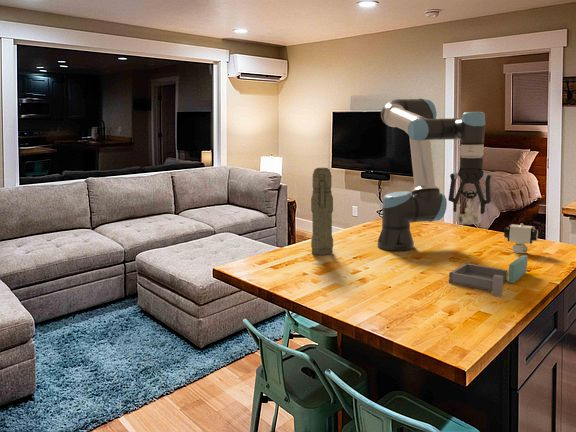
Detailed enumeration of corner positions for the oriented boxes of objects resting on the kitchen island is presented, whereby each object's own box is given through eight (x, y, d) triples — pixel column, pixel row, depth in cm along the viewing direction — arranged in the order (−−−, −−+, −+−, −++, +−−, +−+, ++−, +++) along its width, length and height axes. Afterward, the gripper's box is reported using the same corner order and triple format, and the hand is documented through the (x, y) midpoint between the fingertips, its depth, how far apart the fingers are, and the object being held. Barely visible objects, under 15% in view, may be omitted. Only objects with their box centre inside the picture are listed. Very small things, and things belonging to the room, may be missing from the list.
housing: (445, 285, 159) (446, 267, 158) (465, 272, 171) (465, 256, 170) (499, 296, 148) (501, 277, 147) (516, 282, 160) (518, 264, 159)
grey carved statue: (313, 257, 195) (312, 169, 188) (309, 249, 206) (309, 167, 200) (335, 256, 195) (335, 169, 189) (330, 248, 207) (330, 166, 200)
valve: (454, 223, 176) (456, 190, 174) (470, 222, 178) (472, 189, 175) (465, 227, 170) (467, 192, 168) (482, 225, 171) (484, 191, 169)
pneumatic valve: (534, 255, 191) (537, 226, 189) (502, 251, 198) (504, 223, 196) (536, 252, 196) (539, 223, 193) (505, 248, 202) (507, 220, 200)
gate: (508, 282, 160) (509, 264, 159) (521, 271, 171) (522, 254, 170) (513, 283, 159) (514, 265, 158) (526, 272, 170) (527, 255, 169)
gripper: (440, 157, 171) (437, 221, 175) (500, 158, 161) (496, 226, 165) (445, 156, 178) (443, 217, 182) (503, 156, 168) (499, 222, 172)
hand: (468, 221), depth 173 cm, fingers closed on valve, 7 cm apart
